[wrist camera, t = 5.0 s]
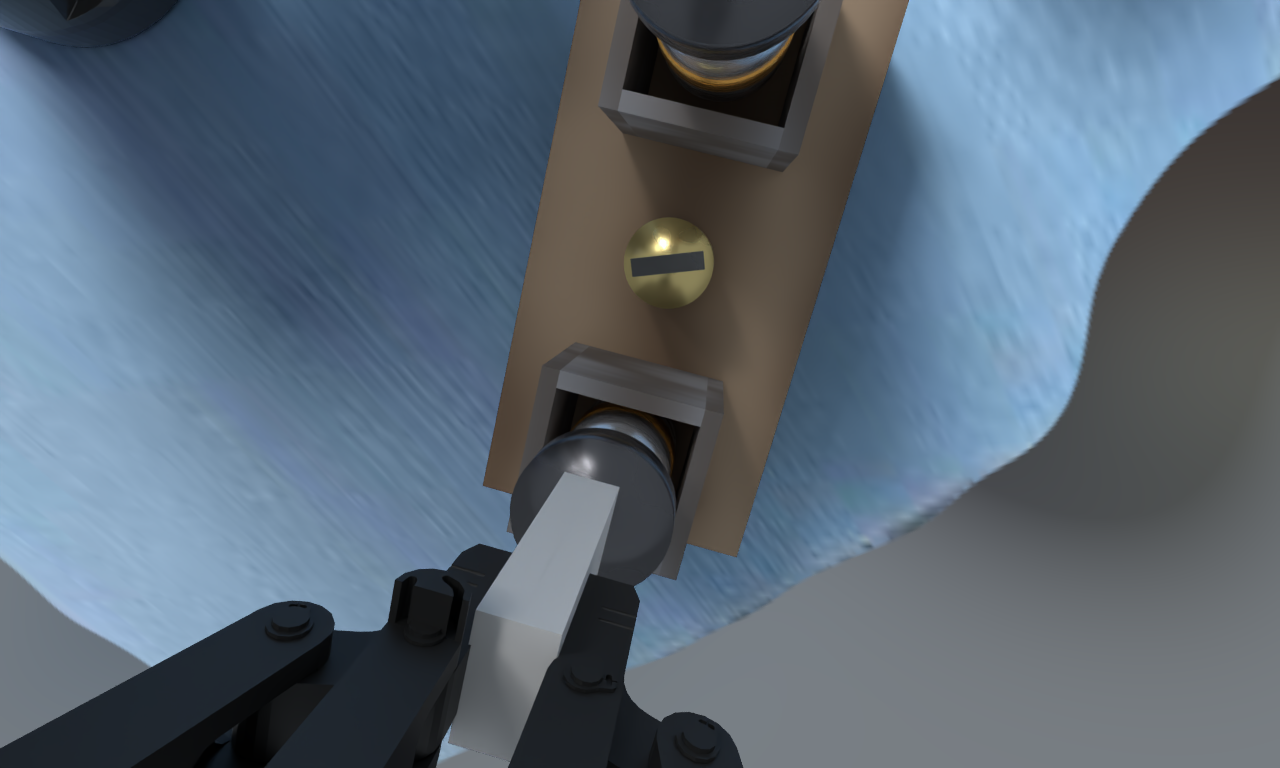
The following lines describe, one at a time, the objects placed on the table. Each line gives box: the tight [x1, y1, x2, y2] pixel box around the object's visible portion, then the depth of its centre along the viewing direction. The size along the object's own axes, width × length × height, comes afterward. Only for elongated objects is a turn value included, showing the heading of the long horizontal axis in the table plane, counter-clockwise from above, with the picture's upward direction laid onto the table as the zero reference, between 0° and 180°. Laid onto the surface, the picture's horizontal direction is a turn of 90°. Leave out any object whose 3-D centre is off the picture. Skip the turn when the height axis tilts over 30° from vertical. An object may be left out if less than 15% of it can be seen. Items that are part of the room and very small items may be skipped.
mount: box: [483, 0, 909, 580], centre depth 25 cm, size 11×22×11 cm, turn 166°
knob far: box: [510, 400, 676, 586], centre depth 22 cm, size 5×5×8 cm
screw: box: [624, 217, 714, 309], centre depth 23 cm, size 3×3×3 cm
